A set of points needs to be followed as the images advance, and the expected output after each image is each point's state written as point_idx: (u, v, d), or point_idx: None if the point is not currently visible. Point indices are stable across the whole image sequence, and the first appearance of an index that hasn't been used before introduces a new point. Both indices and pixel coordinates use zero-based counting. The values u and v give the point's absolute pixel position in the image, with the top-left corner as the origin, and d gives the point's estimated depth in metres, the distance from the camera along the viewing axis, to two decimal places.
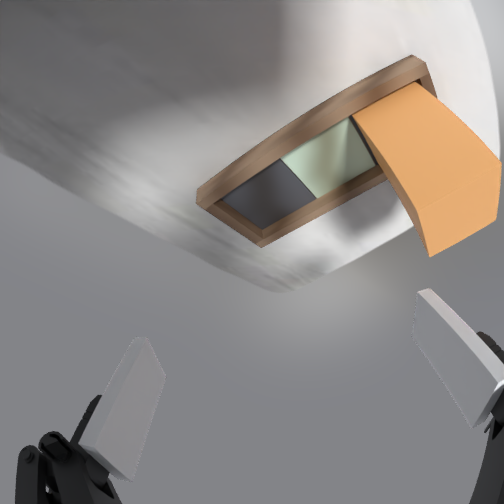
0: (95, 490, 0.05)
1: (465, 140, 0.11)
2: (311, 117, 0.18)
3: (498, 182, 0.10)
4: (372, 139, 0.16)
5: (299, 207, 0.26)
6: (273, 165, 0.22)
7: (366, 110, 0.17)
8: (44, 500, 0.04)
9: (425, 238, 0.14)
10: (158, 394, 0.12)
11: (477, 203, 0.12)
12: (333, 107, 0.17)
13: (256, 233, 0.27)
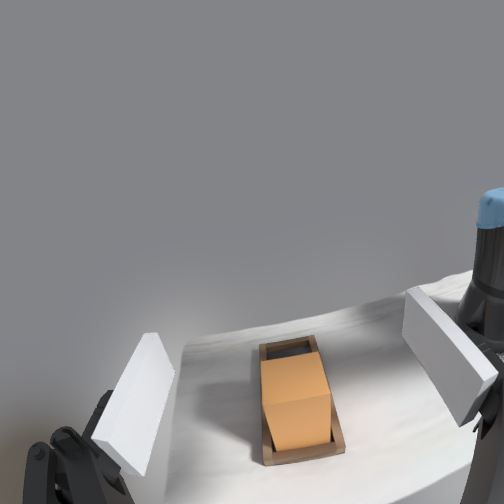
0: (107, 487, 0.05)
1: None
2: None
3: (311, 395, 0.22)
4: None
5: None
6: None
7: None
8: (53, 497, 0.04)
9: (287, 357, 0.27)
10: (168, 389, 0.12)
11: (299, 383, 0.23)
12: (331, 397, 0.31)
13: (272, 347, 0.43)
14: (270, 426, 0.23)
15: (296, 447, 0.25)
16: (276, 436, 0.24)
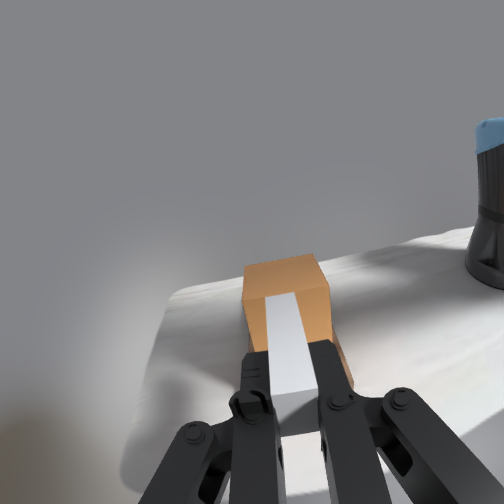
0: (278, 462, 0.06)
1: None
2: None
3: (304, 288, 0.19)
4: None
5: None
6: None
7: None
8: (195, 494, 0.05)
9: (276, 261, 0.24)
10: None
11: (289, 279, 0.20)
12: None
13: None
14: (254, 342, 0.20)
15: None
16: None
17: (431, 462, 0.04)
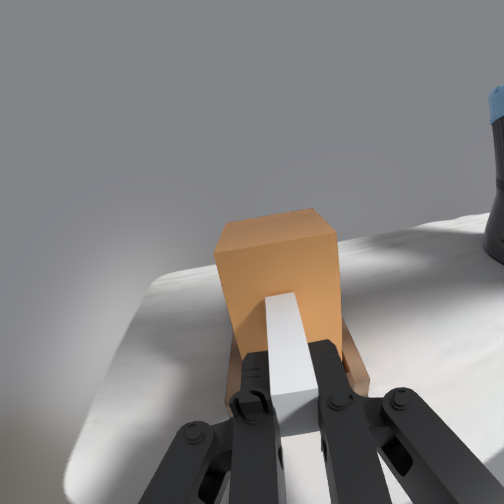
0: (278, 462, 0.06)
1: None
2: None
3: (302, 236, 0.13)
4: None
5: None
6: None
7: None
8: (195, 494, 0.05)
9: (266, 216, 0.19)
10: None
11: (282, 229, 0.15)
12: None
13: None
14: (232, 317, 0.15)
15: None
16: (245, 346, 0.15)
17: (431, 462, 0.04)
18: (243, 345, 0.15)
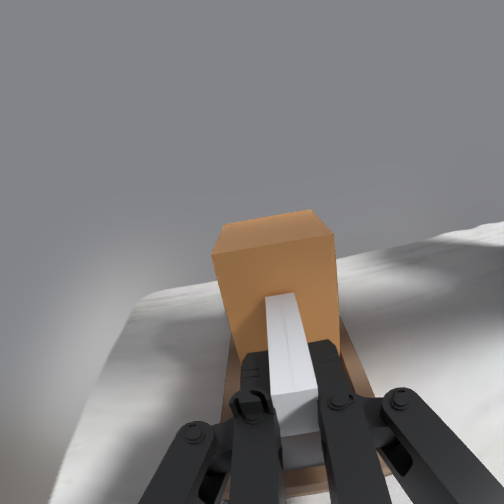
0: (278, 462, 0.06)
1: None
2: None
3: (299, 238, 0.13)
4: None
5: None
6: None
7: None
8: (195, 494, 0.05)
9: (264, 217, 0.19)
10: None
11: (279, 231, 0.15)
12: None
13: None
14: (230, 318, 0.15)
15: None
16: (243, 347, 0.15)
17: (431, 462, 0.04)
18: (241, 346, 0.15)
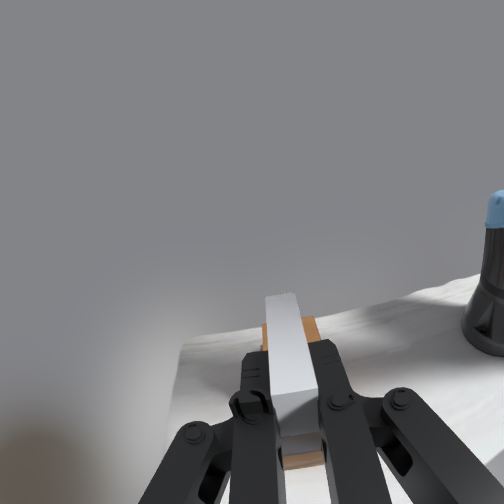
0: (278, 462, 0.06)
1: None
2: None
3: None
4: None
5: None
6: None
7: None
8: (195, 494, 0.05)
9: None
10: None
11: None
12: None
13: None
14: None
15: None
16: None
17: (431, 462, 0.04)
18: None
